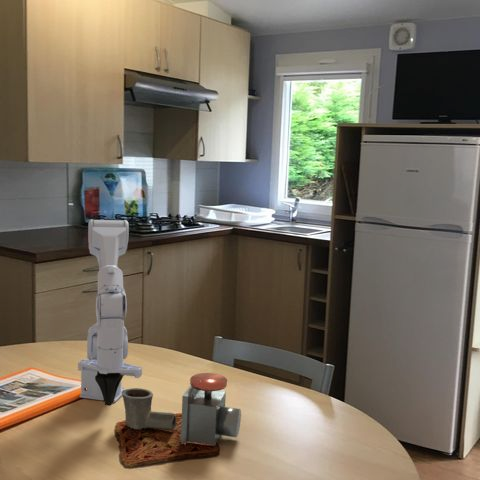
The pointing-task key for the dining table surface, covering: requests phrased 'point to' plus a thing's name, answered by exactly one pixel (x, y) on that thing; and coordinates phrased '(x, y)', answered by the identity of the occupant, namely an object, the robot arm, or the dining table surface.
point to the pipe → (145, 411)
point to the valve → (207, 410)
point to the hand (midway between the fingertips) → (109, 403)
